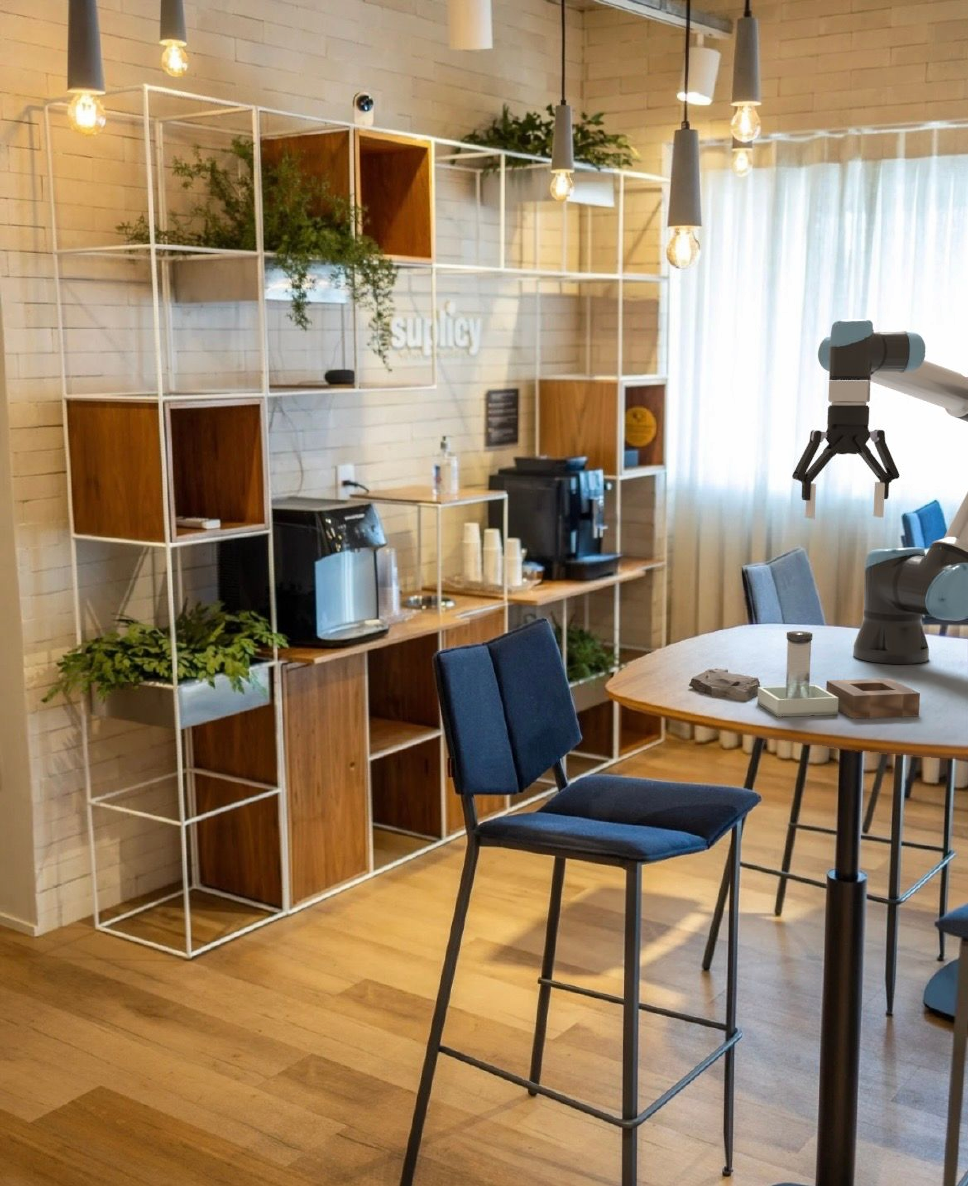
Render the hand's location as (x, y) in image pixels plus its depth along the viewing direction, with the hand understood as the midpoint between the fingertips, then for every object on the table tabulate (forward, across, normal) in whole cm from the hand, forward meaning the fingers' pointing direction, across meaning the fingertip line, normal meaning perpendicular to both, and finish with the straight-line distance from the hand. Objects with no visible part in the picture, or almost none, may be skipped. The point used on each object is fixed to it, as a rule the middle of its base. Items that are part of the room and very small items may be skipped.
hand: (844, 517), depth 260 cm
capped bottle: (+31, +16, +20) cm, 40 cm away
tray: (+32, +16, +20) cm, 41 cm away
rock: (+32, +24, +5) cm, 40 cm away
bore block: (+32, +3, +22) cm, 39 cm away
